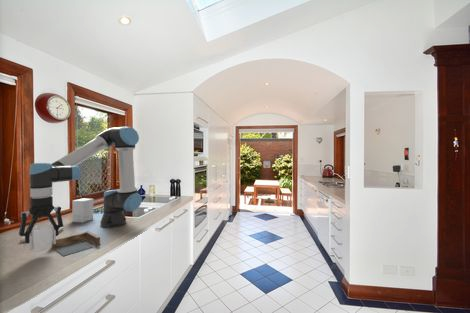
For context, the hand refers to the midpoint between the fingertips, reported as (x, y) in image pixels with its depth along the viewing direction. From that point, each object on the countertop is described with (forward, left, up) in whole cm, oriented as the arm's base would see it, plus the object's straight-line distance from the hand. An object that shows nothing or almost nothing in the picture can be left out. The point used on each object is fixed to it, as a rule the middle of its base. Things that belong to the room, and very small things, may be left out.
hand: (42, 246), depth 97 cm
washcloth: (-8, -31, -5) cm, 32 cm away
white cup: (0, 0, -1) cm, 1 cm away
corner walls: (-13, 0, -4) cm, 13 cm away
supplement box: (-32, -47, -5) cm, 57 cm away
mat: (-11, +2, -4) cm, 12 cm away
